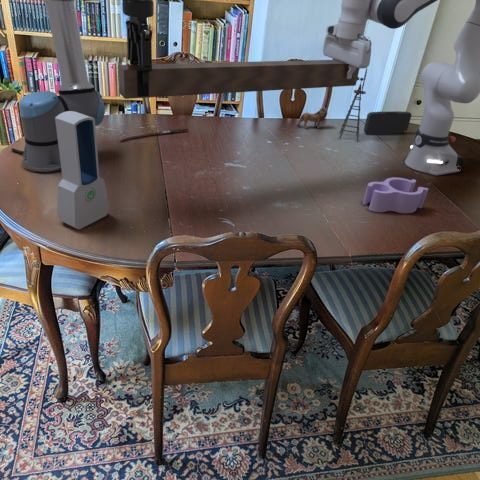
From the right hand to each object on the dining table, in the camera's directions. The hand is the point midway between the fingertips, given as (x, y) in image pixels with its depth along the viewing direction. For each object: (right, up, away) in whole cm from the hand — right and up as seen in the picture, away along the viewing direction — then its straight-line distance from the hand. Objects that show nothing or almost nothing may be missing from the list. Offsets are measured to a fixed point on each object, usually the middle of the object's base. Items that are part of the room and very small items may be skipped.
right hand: (341, 75), depth 158 cm
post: (-31, -9, -14) cm, 35 cm away
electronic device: (-79, -50, -25) cm, 96 cm away
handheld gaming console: (+34, -5, +62) cm, 71 cm away
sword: (-69, -13, +32) cm, 77 cm away
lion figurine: (-1, -3, +60) cm, 60 cm away
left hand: (-62, -15, -30) cm, 71 cm away
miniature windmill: (+15, -9, +53) cm, 56 cm away
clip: (+17, -44, 0) cm, 47 cm away
